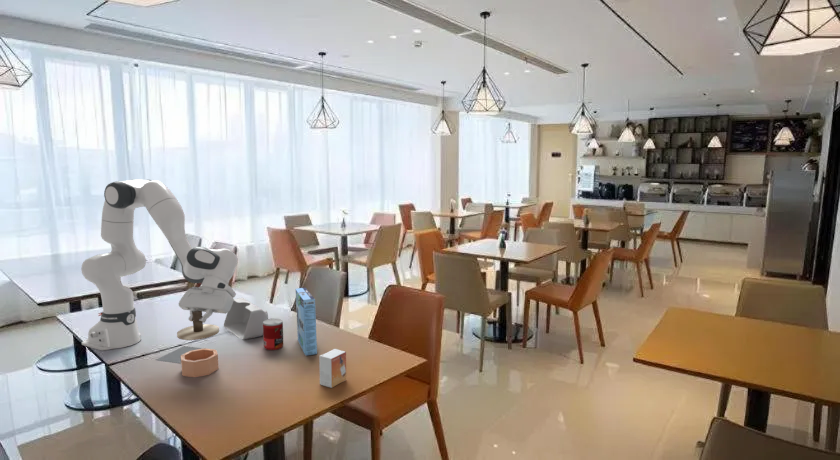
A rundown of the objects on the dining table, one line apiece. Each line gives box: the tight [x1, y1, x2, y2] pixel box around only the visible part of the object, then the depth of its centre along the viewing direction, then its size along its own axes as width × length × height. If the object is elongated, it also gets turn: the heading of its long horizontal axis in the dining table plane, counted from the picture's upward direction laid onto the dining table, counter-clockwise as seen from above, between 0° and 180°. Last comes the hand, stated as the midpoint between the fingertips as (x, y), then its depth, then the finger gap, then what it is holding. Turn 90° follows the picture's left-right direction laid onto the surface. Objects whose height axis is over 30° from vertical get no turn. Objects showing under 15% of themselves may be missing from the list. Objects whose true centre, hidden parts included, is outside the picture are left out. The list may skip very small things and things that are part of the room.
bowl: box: [180, 347, 219, 378], centre depth 177 cm, size 12×12×6 cm
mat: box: [155, 345, 204, 365], centre depth 191 cm, size 15×15×1 cm
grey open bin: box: [223, 297, 269, 341], centre depth 221 cm, size 25×16×12 cm, turn 40°
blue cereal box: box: [295, 287, 318, 357], centre depth 200 cm, size 20×5×23 cm, turn 23°
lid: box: [176, 311, 220, 341], centre depth 176 cm, size 14×14×8 cm
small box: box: [318, 348, 347, 389], centre depth 169 cm, size 8×6×10 cm
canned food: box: [262, 318, 284, 351], centre depth 200 cm, size 8×8×11 cm
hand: (196, 321), depth 175 cm, fingers closed on lid, 3 cm apart
